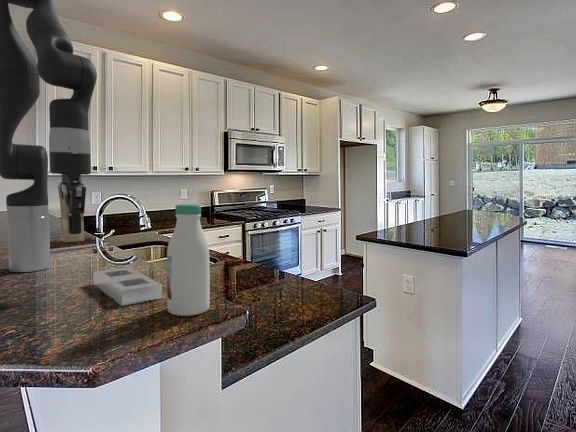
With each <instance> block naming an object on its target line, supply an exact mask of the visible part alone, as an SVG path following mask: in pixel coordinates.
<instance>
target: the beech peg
mask: <svg viewBox="0 0 576 432" xmlns="http://www.w3.org/2000/svg"><path fill="white" fill-rule="evenodd" d="M68 200H69V201H70V199H68ZM59 205H60V208H59V210H60V234H61V237H60V240H61V241H62V242H64V243H72V242H74V243H75V242H83V241H85V224H84V223H85V222H84V217H85V215H84V214H85V213H84V214H82V216H81V233H80V234H70V233H69V224H68V217H70V216H68V214H67V212H68V209H67V205H65V201H64V198H59ZM74 208H78V205H74Z"/></svg>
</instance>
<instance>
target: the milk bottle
mask: <svg viewBox="0 0 576 432" xmlns="http://www.w3.org/2000/svg"><path fill="white" fill-rule="evenodd" d="M174 209H175V217H176V224H175V227H174V230H173V233H172V235H171V236H170V240H169V242H168V246H167V251H166V252H167V257H166V258H167V259H166V285H167V286H166V292H167V293H166V298H167V299H166V300H167V302H166V303H167V305H166V306H167V311H168V313H169V314H171V315H173V316H179V317H189V316H190V317H191V316H196V315H201V314H203V313H206V312H207V311H208V310H209V308H210V304H211V303H210V301H211V300H210V299H211V298H210V293H211V292H210V291H211V289H210V287H211V285H210V283H211V281H210V278H211V277H210V276H211V275H210V271H211V270H210V269H211V268H210V267H211V266H210V248H209V247H210V245H209V241H208V240H207V239H208V238H207V237H206V235H205V232H204V230H203V228H202V223H201V217H202V214H201V213H202V206H201V204H196V203H195V204H194V203H193V204H190V203H185V204H176V205H175V208H174Z"/></svg>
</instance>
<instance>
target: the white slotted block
mask: <svg viewBox="0 0 576 432" xmlns="http://www.w3.org/2000/svg"><path fill="white" fill-rule="evenodd" d="M93 285H94V286H95V287H96V288H98V289H99V291H100V290H101V292H103V293H104V294H105V295H107V296H108V297H109V298H110V299H112V298H113V299H114V302H116V303H117V304H119V305H120V306H121V307H124V306H129V305H130V306H131V305H135V304H140V303H145V301H146V302H150V301H149V300H151V301H155V299H156V300H161V298H162V299H163V284H162V283H161V282H159V281H156V280H155V279H152V278H151V277H149V276H147V275H145V274H143V273H141V272H139V271H137V270H135V269H133V268H131V267H129V266H128V267H122V268H113V269H105V270H104V269H103V270H97V271H95V270H94V271H93ZM113 299H112V300H113Z"/></svg>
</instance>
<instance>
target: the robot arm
mask: <svg viewBox="0 0 576 432" xmlns="http://www.w3.org/2000/svg"><path fill="white" fill-rule="evenodd" d="M9 4H10V5H14V6H18V7H22V8H26V9H32V10H31V11H30V12H29V14H28V16H26V17H27V18H26V21H25V28H26V33H27V35H28V37H29V39H30V41H31V43H32V45H33V47H34V48H35V51H36V59H37V61H36V59H35V57H34V56H33V54H32V52H31V51H30V49H29V48H28V47H27V45H26V44H25V42H24V41H23V39H22V38H21V35H20V34H19V33H18V30H17V29H16V27H15V24H14V23H13V19H12V16H11V12H10V7H9ZM40 79H42V81H44V82H45V83H46V84H49V85H50V86H53V87H60V88H63V89H67V90H73V91H72V94H71V96H70V97H69V98H55V99H53V100H51V101H50V102H49V108H48V110H49V113H48V114H49V134H48V135H49V136H48V137H49V138H48V149H49V150H48V151H49V153H48V152H47V149H46V148H45V147H44V146H43V145H37V144H36V145H35V144H19V143H18V144H15V143H13V138H14V134H15V132H16V130H17V128H19V125H20V124H21V122H22V120H23V119H24V117H25V116H26V115H27V114H28V112H30V110H31V109H32V107H34V105H35V104H36V102H37V101H38V99H39V97H40V93H41V90H40ZM97 79H98V75H97V70H96V67H95V65H94V63H93V62H92V60H90V59H89V58H87V57H84V56H81V55H78V54H75V53H74V46H73V43H72V41H71V39H70V37H69V36H68V34H67V32H66V31H65V29H64V28H63V25H62V24H61V22H60V20H59V17H58V15H57V11H56V8H55V5H54V1H53V0H0V177H1V178H2V179H5V180H14V181H15V180H17V181H19V180H20V181H21V180H22V181H23V180H24V181H29V180H30V181H33V184H31V185H30V186H29V187H27V188H25V189H23V190H19V191H16V192H13V193H10V194H7V196H6V199H5V201H6V202H5V204H6V221H7V224H6V225H7V246H8V269H9V272H12V273H29V272H37V271H42V270H47V269H50V268H51V242H50V217H49V213H50V212H49V196H48V195H49V194H48V193H49V192H48V191H49V190H48V174H49V173H48V171H49V172H50V174H53V175H54V174H56V175H61V182H59V183H58V186H57V189H58V197H59V199H60V198H64V201H65V205H67V209H68V212H67V214H68V216H70V217H68V224H69V233H70V234H80V233H81V216H82V214H85V209H86V208H85V207H86V193H87V188H86V186H85V185H84V183H82V178H81V176H83V175H85V176H86V175H90V174H91V173H92V162H91V160H92V159H91V138H90V131H89V130H90V128H89V127H90V126H89V109H90V106H91V105H90V104H91V101H92V97H93V94H94V90H95V87H96V84H97V81H98V80H97ZM48 155H49V156H48ZM48 157H49V158H48ZM48 164H49V165H48ZM68 199H70V201H69V200H68ZM74 205H78V208H74Z"/></svg>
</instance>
